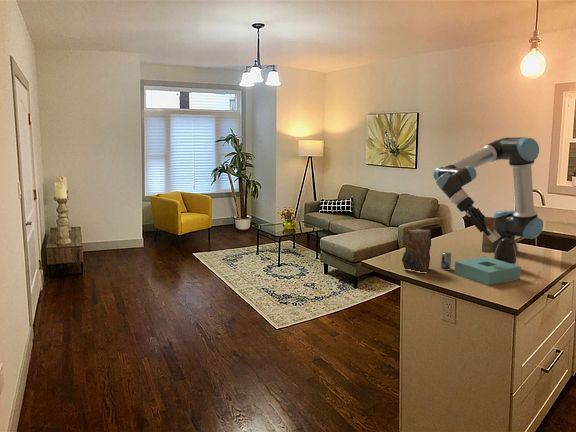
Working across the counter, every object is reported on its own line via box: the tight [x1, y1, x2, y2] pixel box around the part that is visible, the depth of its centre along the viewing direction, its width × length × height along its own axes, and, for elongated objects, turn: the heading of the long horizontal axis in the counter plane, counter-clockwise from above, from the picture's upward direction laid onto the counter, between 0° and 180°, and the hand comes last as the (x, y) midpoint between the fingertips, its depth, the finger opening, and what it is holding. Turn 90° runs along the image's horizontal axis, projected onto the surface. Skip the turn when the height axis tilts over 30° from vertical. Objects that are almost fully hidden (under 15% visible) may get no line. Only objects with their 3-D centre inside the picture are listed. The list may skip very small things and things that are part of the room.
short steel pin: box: [440, 251, 452, 270], centre depth 225 cm, size 4×4×8 cm
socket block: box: [454, 256, 522, 286], centre depth 213 cm, size 20×20×6 cm
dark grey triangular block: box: [493, 238, 517, 265], centre depth 225 cm, size 10×10×15 cm
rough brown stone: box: [401, 228, 432, 273], centre depth 224 cm, size 13×13×20 cm
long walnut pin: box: [481, 216, 495, 254], centre depth 210 cm, size 4×4×16 cm
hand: (496, 239), depth 207 cm, fingers closed on long walnut pin, 4 cm apart
